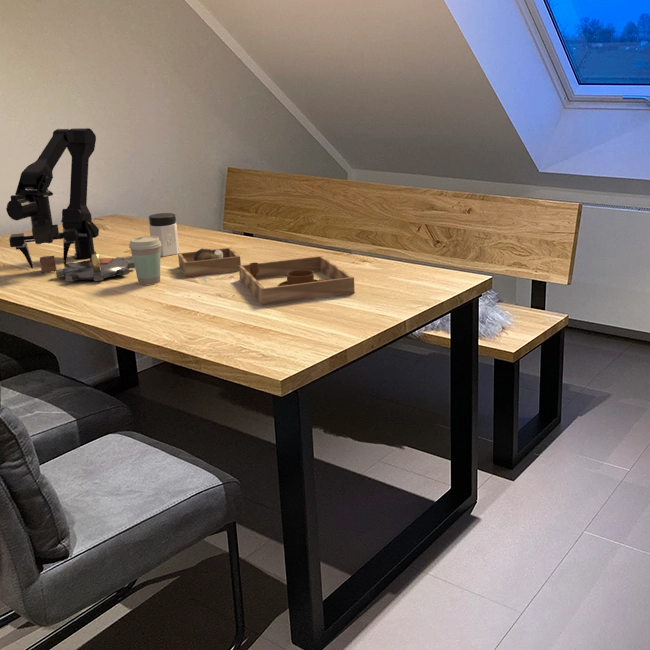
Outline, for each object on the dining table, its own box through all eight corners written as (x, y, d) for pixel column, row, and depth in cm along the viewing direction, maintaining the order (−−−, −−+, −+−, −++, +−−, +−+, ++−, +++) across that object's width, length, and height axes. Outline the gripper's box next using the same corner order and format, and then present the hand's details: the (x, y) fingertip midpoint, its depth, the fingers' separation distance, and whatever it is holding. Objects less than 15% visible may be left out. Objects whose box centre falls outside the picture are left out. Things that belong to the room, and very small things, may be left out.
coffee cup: (154, 276, 223) (149, 234, 220) (171, 281, 217) (166, 238, 214) (127, 282, 218) (122, 239, 214) (144, 288, 212) (139, 244, 208)
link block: (42, 270, 236) (40, 256, 234) (56, 268, 237) (54, 255, 236) (42, 273, 232) (39, 259, 231) (56, 271, 233) (54, 258, 232)
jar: (157, 257, 244) (153, 219, 241) (147, 253, 251) (143, 215, 247) (184, 253, 249) (180, 215, 245) (174, 248, 256) (170, 211, 252)
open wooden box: (179, 266, 233) (178, 253, 231) (231, 260, 237) (230, 247, 236) (186, 277, 221) (184, 263, 220) (241, 270, 226) (240, 256, 224)
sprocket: (56, 267, 235) (53, 245, 233) (131, 258, 241) (129, 237, 239) (57, 285, 215) (53, 262, 213) (139, 275, 221) (136, 252, 219)
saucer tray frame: (239, 279, 216) (238, 265, 215) (322, 269, 223) (321, 255, 222) (263, 305, 193) (262, 289, 192) (354, 293, 200) (354, 277, 198)
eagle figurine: (195, 262, 232) (187, 264, 223) (207, 241, 231) (200, 242, 222) (217, 276, 232) (210, 278, 224) (229, 255, 231) (223, 257, 222)
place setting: (280, 303, 196) (278, 279, 194) (246, 285, 213) (245, 263, 211) (341, 290, 204) (340, 268, 203) (304, 274, 221) (303, 253, 219)
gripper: (4, 221, 219) (13, 276, 224) (75, 215, 225) (82, 268, 230) (6, 215, 229) (15, 267, 234) (73, 208, 235) (81, 260, 240)
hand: (48, 266), depth 234 cm, fingers open, 9 cm apart
